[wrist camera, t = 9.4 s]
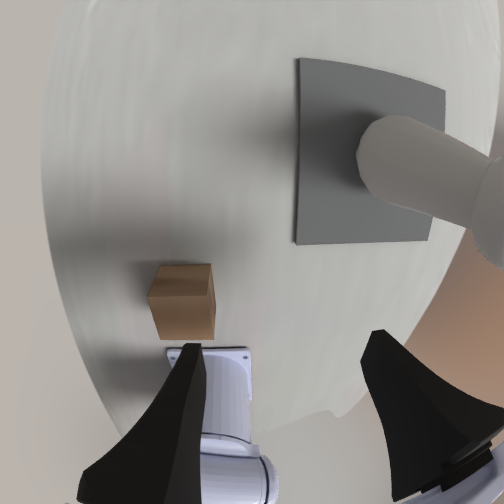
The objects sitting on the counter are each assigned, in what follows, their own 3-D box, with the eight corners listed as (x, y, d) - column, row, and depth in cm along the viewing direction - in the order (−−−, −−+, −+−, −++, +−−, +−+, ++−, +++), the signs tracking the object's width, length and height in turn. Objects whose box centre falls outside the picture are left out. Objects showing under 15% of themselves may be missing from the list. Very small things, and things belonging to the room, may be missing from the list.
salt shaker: (361, 206, 18) (485, 327, 7) (330, 133, 16) (492, 187, 4) (421, 173, 17) (557, 252, 6) (397, 103, 15) (561, 129, 3)
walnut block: (216, 305, 22) (213, 339, 19) (169, 306, 22) (160, 339, 19) (211, 263, 20) (206, 295, 17) (159, 265, 20) (146, 296, 17)
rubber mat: (424, 238, 20) (427, 240, 20) (295, 242, 20) (296, 245, 20) (442, 90, 14) (445, 90, 14) (298, 58, 14) (300, 57, 13)
